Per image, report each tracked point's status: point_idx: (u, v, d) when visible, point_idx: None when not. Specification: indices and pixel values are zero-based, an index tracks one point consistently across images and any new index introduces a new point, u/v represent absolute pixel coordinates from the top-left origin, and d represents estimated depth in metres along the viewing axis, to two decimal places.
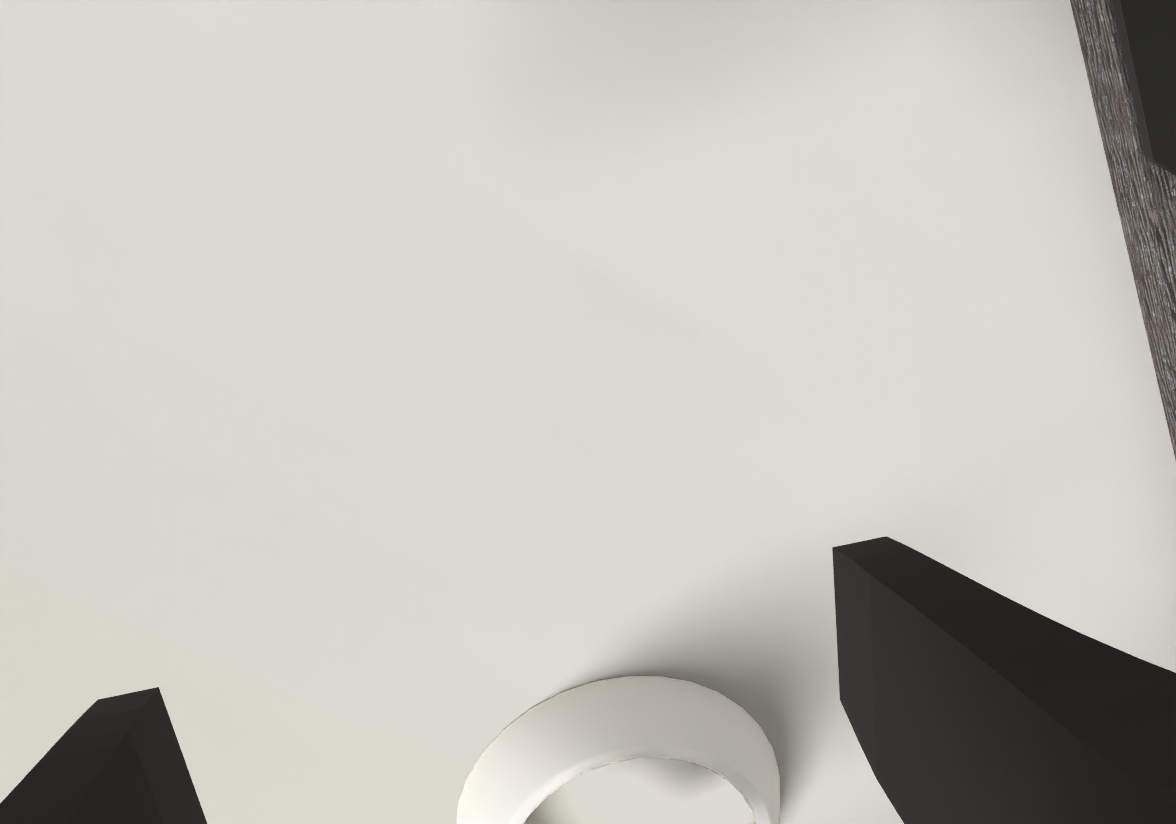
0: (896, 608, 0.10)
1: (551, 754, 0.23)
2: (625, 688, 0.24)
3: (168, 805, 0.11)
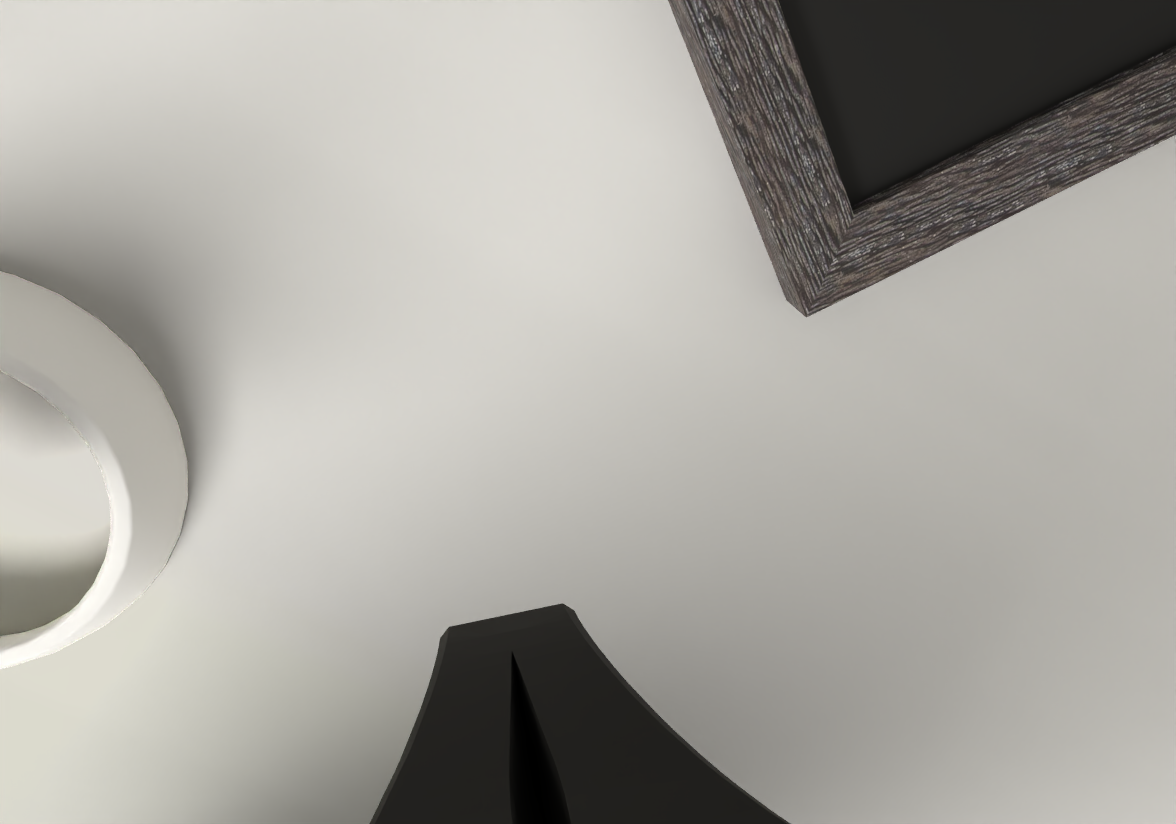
0: (524, 688, 0.10)
1: None
2: None
3: None
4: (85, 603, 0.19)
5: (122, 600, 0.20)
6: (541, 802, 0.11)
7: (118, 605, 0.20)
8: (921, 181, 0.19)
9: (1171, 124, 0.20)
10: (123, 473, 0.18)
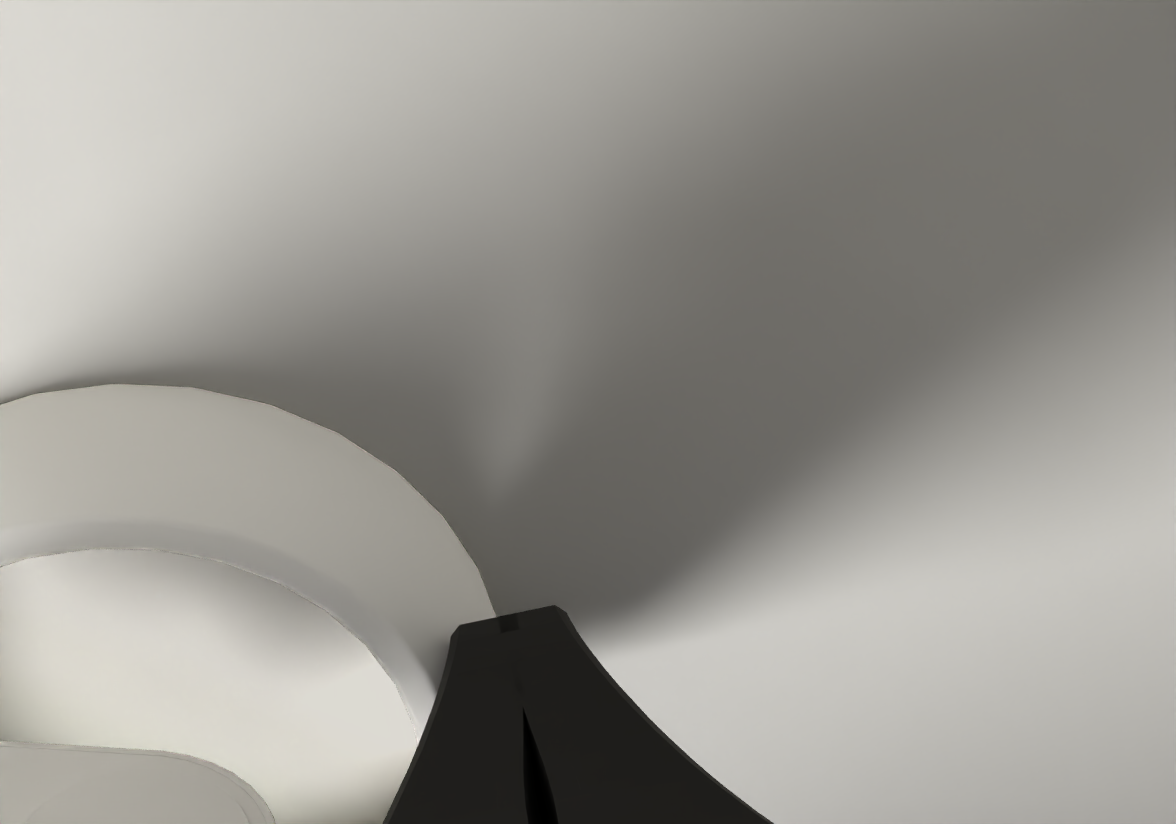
0: (514, 690, 0.10)
1: None
2: (96, 403, 0.11)
3: None
4: None
5: None
6: None
7: None
8: None
9: None
10: None
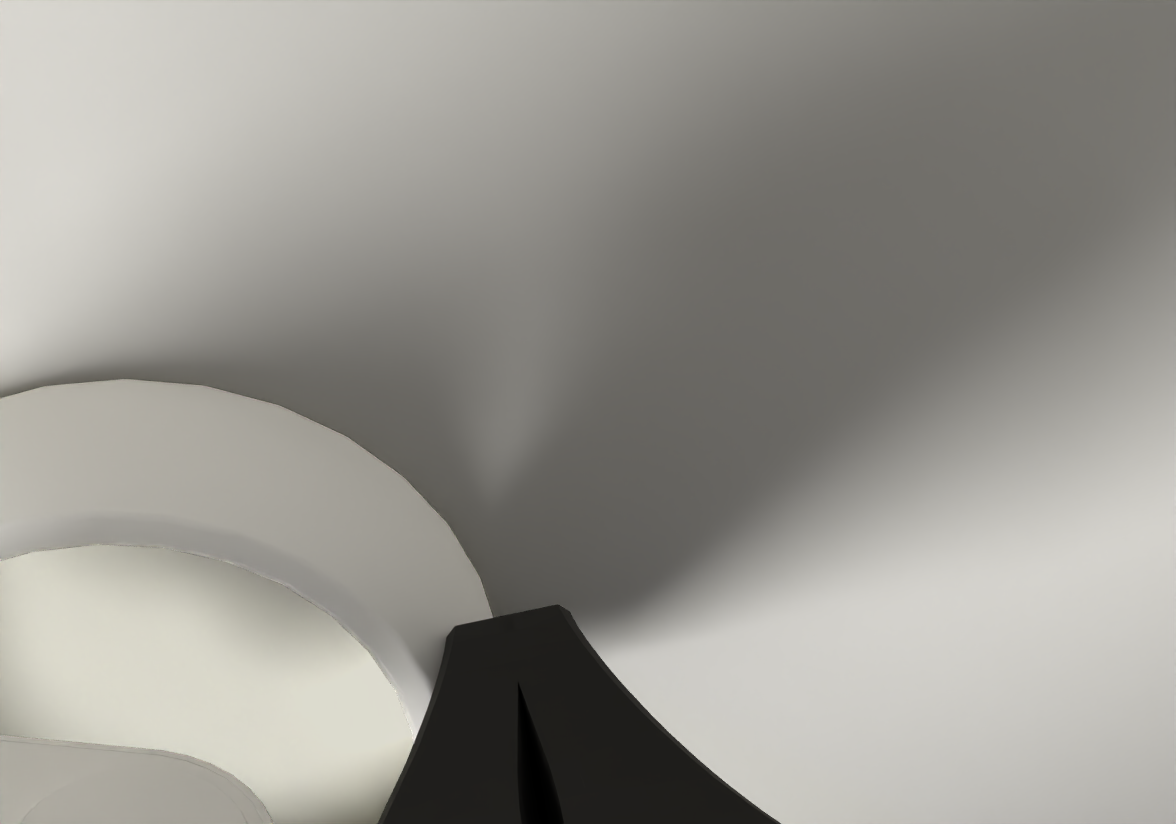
0: (518, 689, 0.10)
1: None
2: (107, 398, 0.11)
3: None
4: None
5: None
6: None
7: None
8: None
9: None
10: None
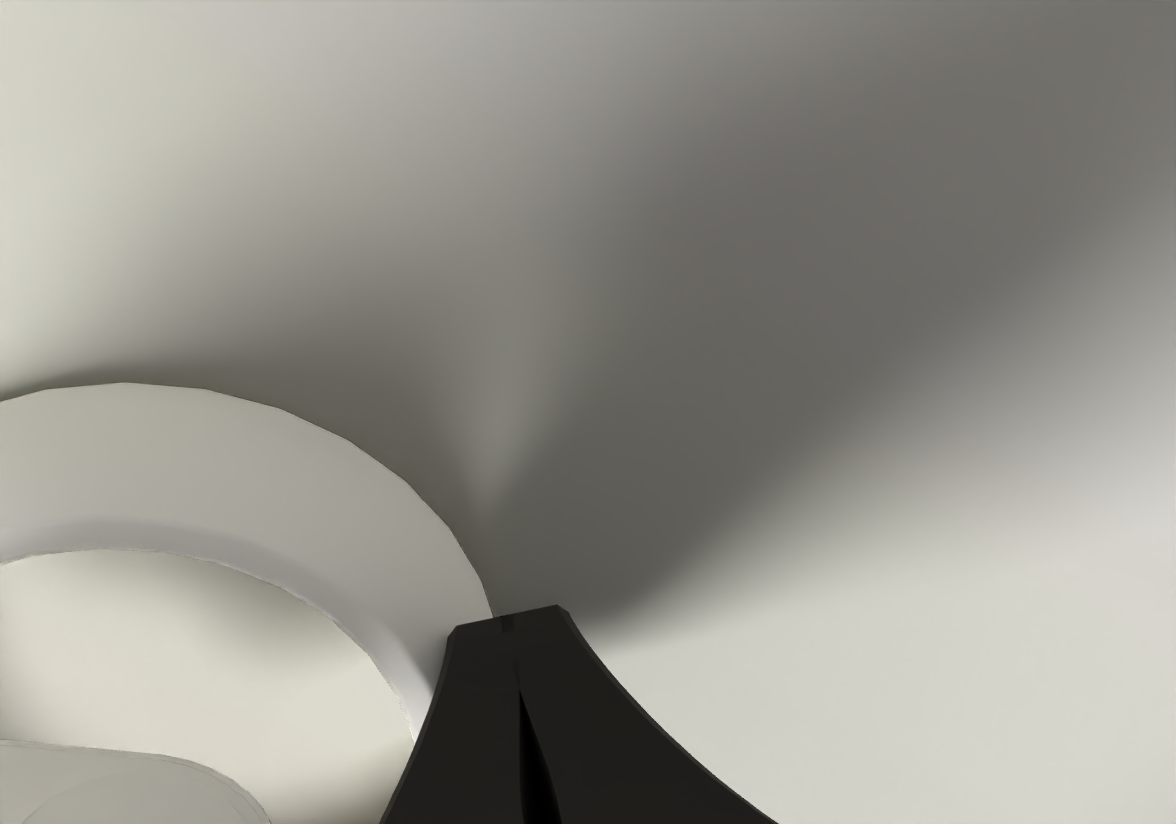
0: (517, 690, 0.10)
1: None
2: (108, 402, 0.11)
3: None
4: None
5: None
6: None
7: None
8: None
9: None
10: None
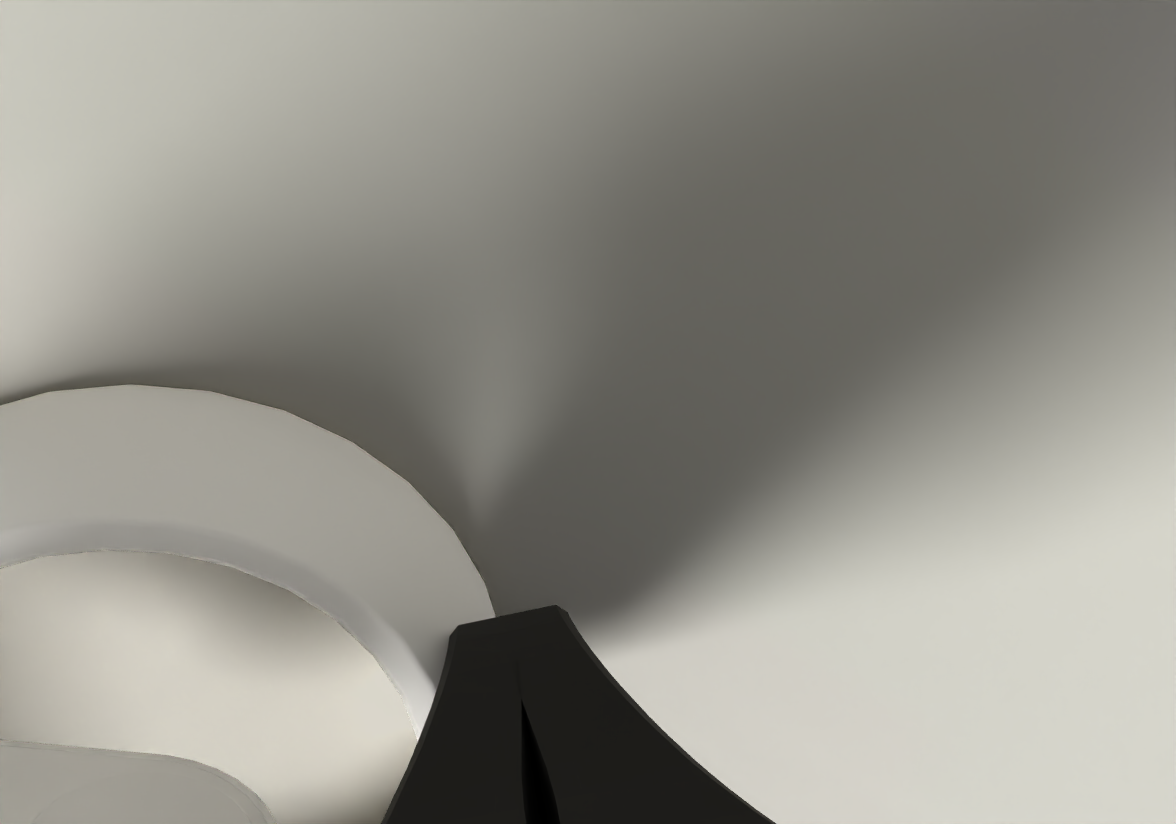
0: (516, 690, 0.10)
1: None
2: (113, 404, 0.11)
3: None
4: None
5: None
6: None
7: None
8: None
9: None
10: None
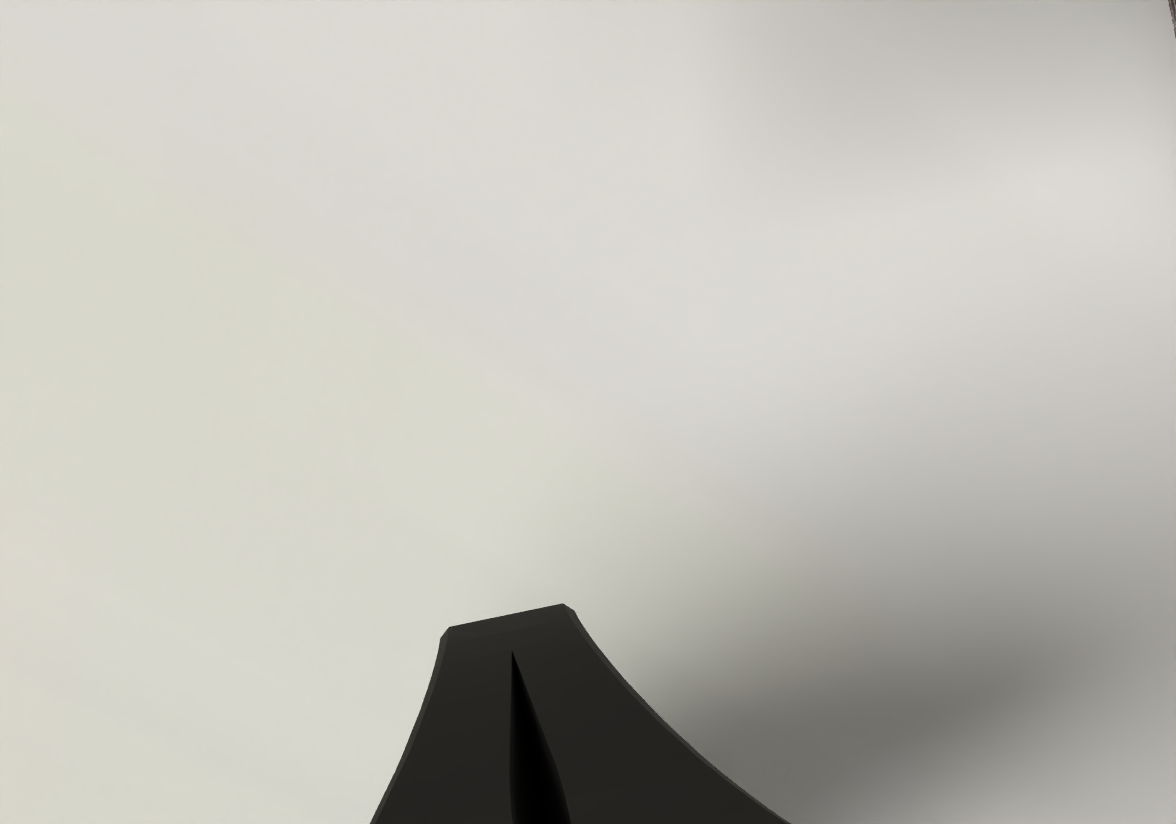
0: (524, 689, 0.10)
1: None
2: None
3: None
4: None
5: None
6: (541, 802, 0.11)
7: None
8: None
9: None
10: None
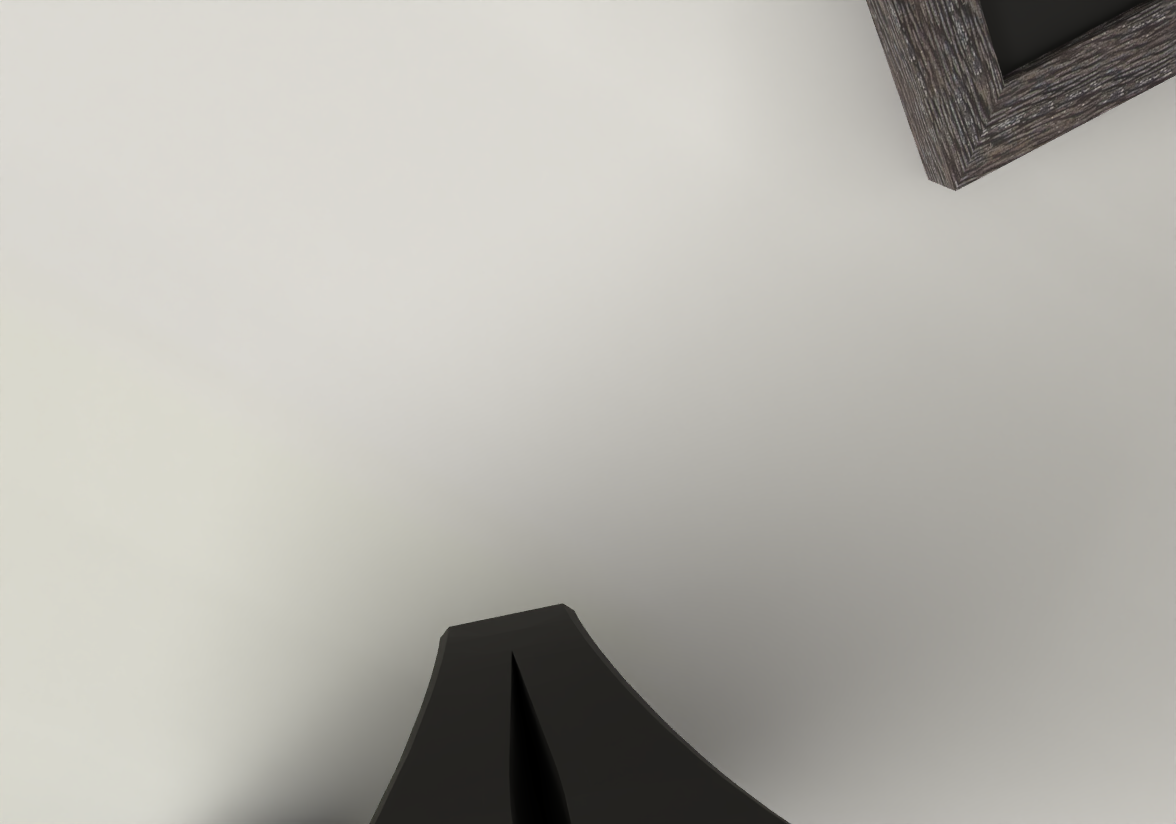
0: (524, 688, 0.10)
1: None
2: None
3: None
4: None
5: None
6: (541, 802, 0.11)
7: None
8: (1071, 48, 0.19)
9: None
10: None
